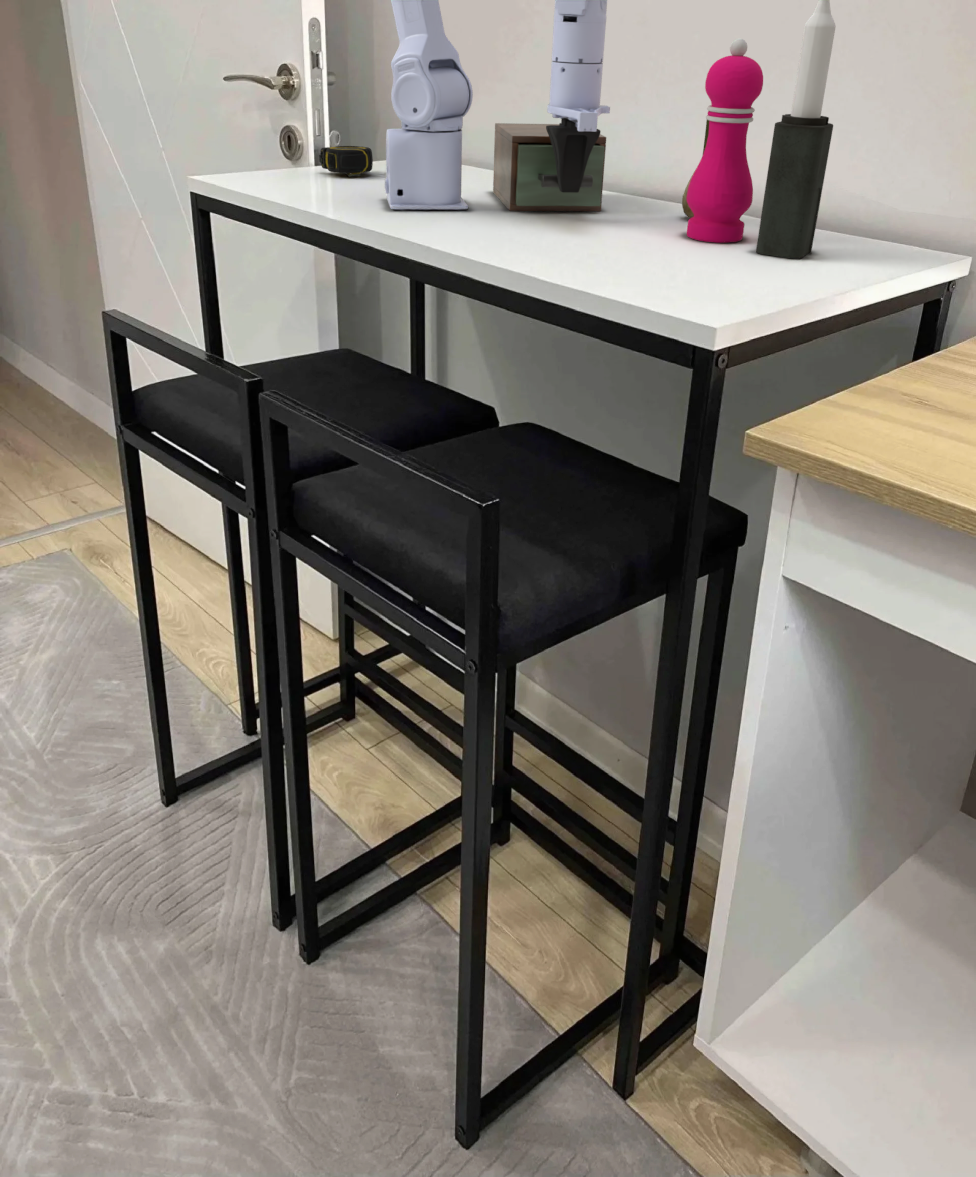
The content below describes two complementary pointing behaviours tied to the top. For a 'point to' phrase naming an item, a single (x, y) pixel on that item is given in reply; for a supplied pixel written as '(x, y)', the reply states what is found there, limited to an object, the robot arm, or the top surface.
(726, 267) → the top surface
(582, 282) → the top surface
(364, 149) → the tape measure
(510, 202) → the cabinet
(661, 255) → the top surface
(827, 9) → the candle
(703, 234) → the pepper mill
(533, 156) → the drawer
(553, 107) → the robot arm
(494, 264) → the top surface
